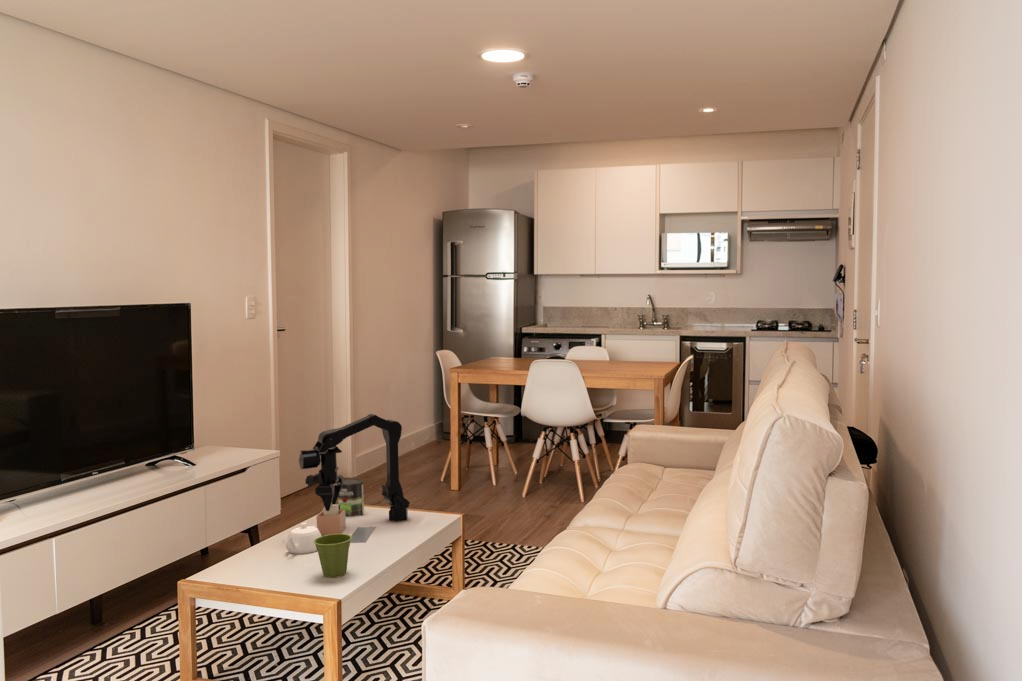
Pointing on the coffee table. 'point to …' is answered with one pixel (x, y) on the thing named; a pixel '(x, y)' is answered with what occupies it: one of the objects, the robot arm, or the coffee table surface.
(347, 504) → the coffee can
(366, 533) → the slate board
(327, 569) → the plant pot
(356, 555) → the coffee table surface
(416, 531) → the coffee table surface
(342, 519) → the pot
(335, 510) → the block
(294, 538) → the teapot
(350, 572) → the coffee table surface
